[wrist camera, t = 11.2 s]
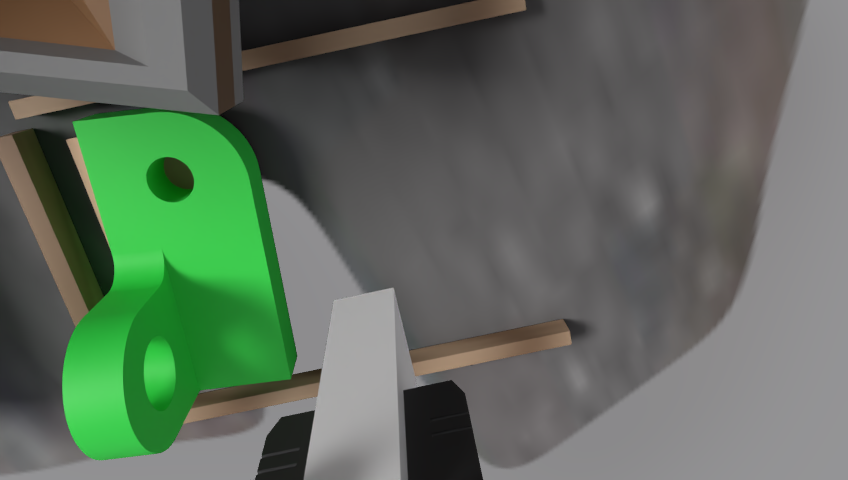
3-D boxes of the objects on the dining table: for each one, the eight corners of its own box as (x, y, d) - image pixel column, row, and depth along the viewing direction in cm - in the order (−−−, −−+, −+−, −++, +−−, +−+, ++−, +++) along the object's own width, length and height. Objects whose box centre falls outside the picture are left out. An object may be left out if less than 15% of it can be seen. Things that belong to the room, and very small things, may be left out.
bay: (138, 419, 30) (125, 439, 29) (0, 102, 25) (-23, 108, 23) (564, 331, 30) (573, 347, 28) (517, -9, 24) (525, -10, 23)
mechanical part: (297, 355, 29) (265, 473, 22) (169, 371, 29) (93, 494, 22) (245, 96, 25) (183, 131, 18) (96, 113, 25) (-30, 155, 17)
